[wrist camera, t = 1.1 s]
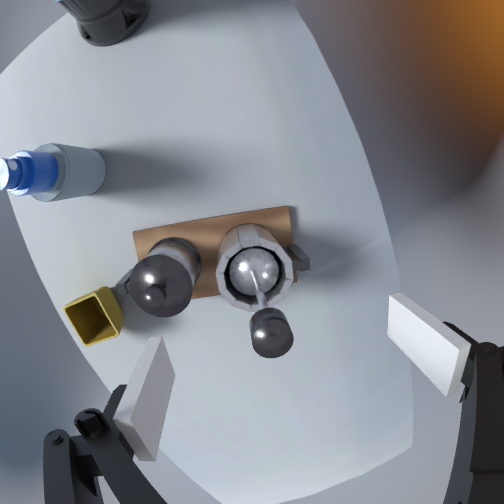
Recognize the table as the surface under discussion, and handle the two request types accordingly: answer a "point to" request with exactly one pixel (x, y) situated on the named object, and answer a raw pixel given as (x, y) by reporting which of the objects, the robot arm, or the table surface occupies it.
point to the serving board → (215, 239)
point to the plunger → (262, 301)
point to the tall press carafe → (261, 238)
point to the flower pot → (95, 316)
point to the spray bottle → (53, 172)
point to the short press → (164, 277)
